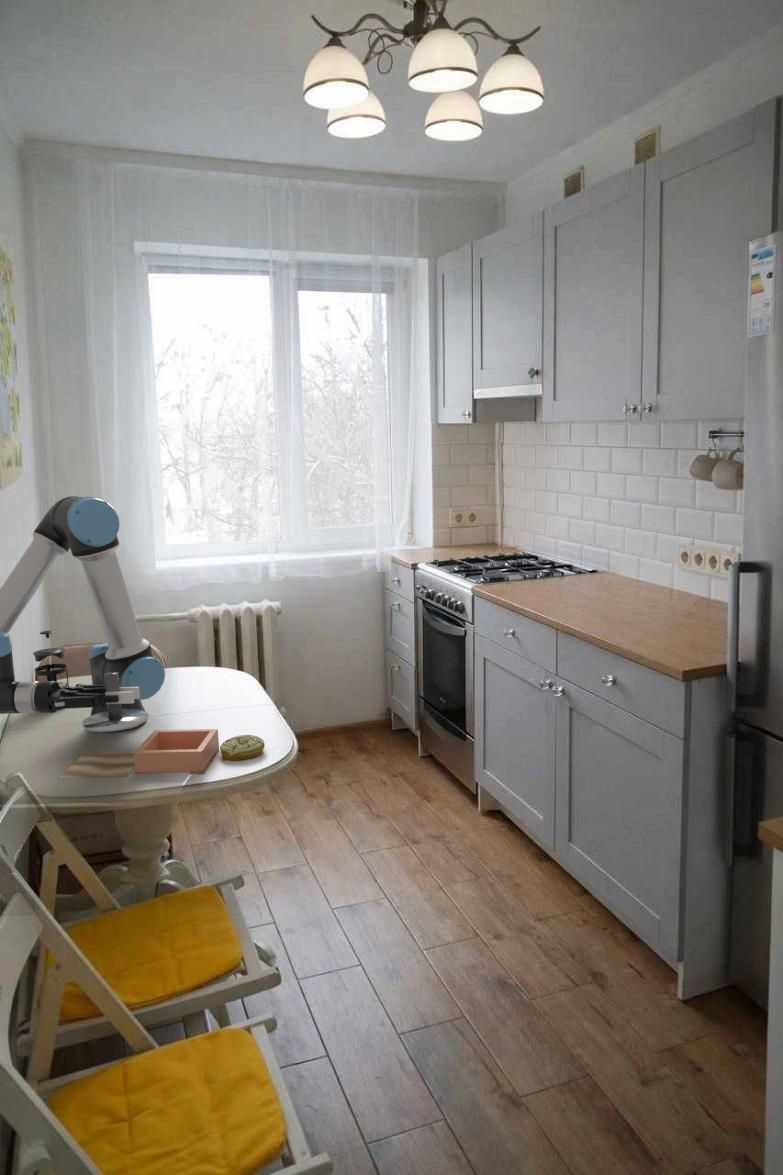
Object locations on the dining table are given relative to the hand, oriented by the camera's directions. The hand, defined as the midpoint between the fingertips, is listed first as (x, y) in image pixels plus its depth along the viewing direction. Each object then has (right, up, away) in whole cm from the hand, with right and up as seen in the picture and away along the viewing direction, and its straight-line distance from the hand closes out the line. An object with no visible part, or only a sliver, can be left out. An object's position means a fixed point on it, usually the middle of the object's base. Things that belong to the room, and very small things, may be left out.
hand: (135, 694), depth 210 cm
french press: (-41, -10, +57) cm, 71 cm away
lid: (-5, -7, +1) cm, 8 cm away
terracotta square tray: (+9, -17, +6) cm, 20 cm away
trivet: (-9, -18, +4) cm, 20 cm away
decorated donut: (+24, -16, +10) cm, 30 cm away
